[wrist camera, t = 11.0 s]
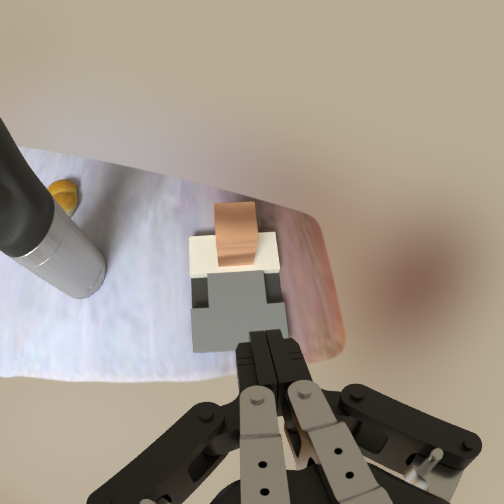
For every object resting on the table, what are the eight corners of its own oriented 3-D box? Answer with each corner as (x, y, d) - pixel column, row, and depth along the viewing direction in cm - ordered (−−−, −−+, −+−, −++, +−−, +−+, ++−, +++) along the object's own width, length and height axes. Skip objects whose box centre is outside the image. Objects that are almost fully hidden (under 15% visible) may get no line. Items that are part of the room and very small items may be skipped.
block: (253, 264, 43) (258, 237, 35) (218, 267, 43) (215, 240, 34) (250, 233, 45) (254, 201, 37) (216, 235, 45) (214, 203, 36)
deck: (286, 345, 41) (289, 344, 39) (194, 352, 40) (193, 351, 38) (278, 273, 45) (280, 268, 43) (191, 278, 44) (189, 274, 42)
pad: (278, 273, 45) (280, 268, 43) (191, 278, 44) (189, 274, 42) (273, 237, 47) (275, 231, 46) (190, 242, 46) (189, 236, 44)
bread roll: (77, 179, 50) (70, 167, 46) (80, 215, 47) (72, 203, 43) (44, 195, 48) (35, 184, 45) (45, 231, 45) (34, 221, 42)
